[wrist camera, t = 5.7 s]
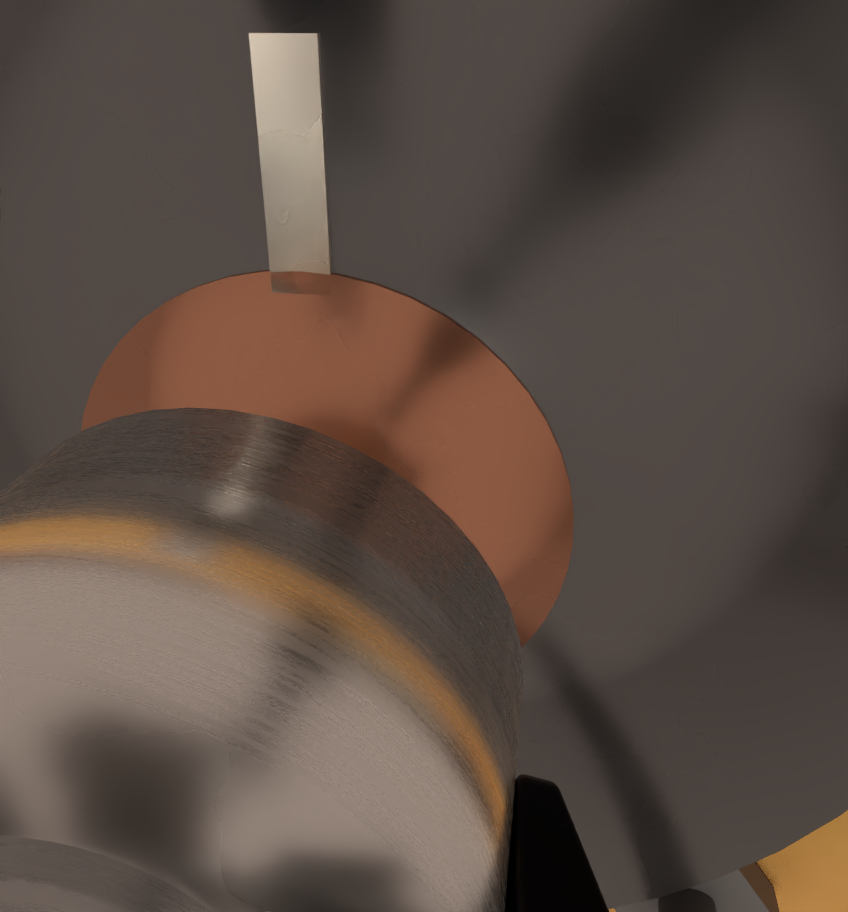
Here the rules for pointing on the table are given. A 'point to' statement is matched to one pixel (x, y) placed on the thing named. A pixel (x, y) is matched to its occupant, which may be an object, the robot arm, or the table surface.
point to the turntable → (495, 338)
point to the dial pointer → (717, 895)
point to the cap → (247, 679)
